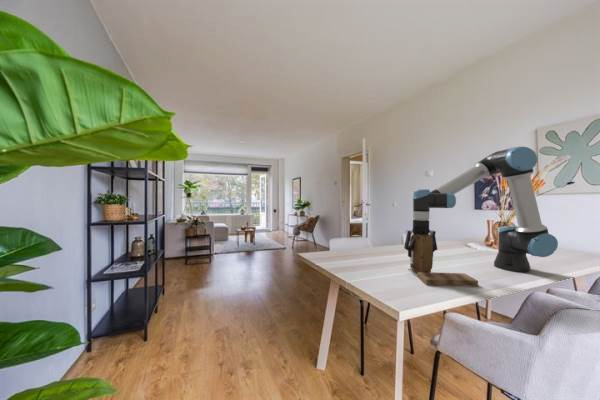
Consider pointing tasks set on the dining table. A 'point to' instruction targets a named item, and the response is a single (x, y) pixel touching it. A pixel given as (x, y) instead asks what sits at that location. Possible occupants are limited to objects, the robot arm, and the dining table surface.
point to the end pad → (413, 272)
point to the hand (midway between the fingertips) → (420, 263)
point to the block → (422, 253)
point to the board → (447, 279)
